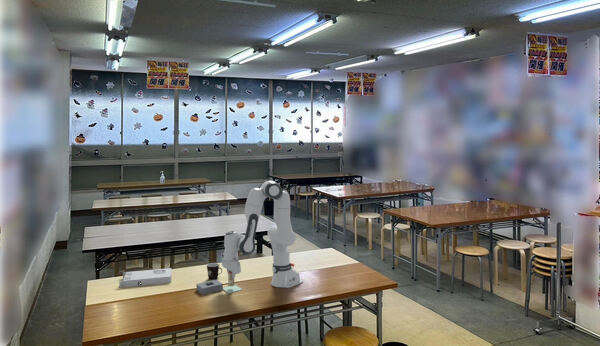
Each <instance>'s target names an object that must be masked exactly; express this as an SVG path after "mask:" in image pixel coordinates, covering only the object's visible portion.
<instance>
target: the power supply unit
mask: <svg viewBox="0 0 600 346" xmlns="http://www.w3.org/2000/svg"><path fill="white" fill-rule="evenodd" d="M172 274H173V273H172V268H171V267H170V268H168V267H167V268H157V269H145V270H135V271H125V272H124V271H123V272H122V279H121V280H119V284H118V285H119V286H118V287H119V288H128V287H129V288H130V287H137V286H148V285H150V286H151V285H161V284H170V283H172ZM140 283H141V284H140Z"/></svg>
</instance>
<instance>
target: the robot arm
mask: <svg viewBox="0 0 600 346" xmlns="http://www.w3.org/2000/svg"><path fill="white" fill-rule="evenodd" d="M267 198H270V199H273V220H274V222H275V225H272V226H270V227H269V228H268V230H267V236H268V238H269V241H270V244H271V249H272V257H273V258H272V260H273V261H272V262H273V263H272V279H271V282H270V285H271V286H273V287H276V288H287V289H288V288H289V289H290V288H292V287H294V286H297V285H299V284H303V283H304V280H303V278H301V277H300V273H299V272H298V271H297V270H296V269H294V268H293V267H295V263H291V262H290V250H289V249H288V247H290V246H292V245H294V244H295V243H296V239H297V237H296V234H295V232H294V230H293V226H292V222H291V198H290V194H289V192H288V191H286V190H283V189H282V187H281V185H280V184H279V183H278V182H276V181H274V180H265V181H263V182H262V183H261V184H260V185H259V186H258V187H253V188H252V189H250V191H249V193H248V196H247V198H246V202H245V205H244V216H245V218H246V230H245V234H241V233H239V232H238V231H237V230H231V231H228V232H226V233H225V234H224V241H223V246H224V252H223V253H222V252H221V265H222V266H221V267H223V268H225V269H226V271H227V273H228V271H231V272H232V273H233V274H232V278H234V279H235V278H236V275H238V274H241V272H242V267H241V262H240V261H239V251H240V253H241V254H243V255H244V256H249V255H251V254H252V253H254V252H255V251H256V242H255V241H256V240H255V238H256V234H257V227H258V223H259V219H260V215H261V213H262V209H263V206H264V202H265V200H266V199H267Z"/></svg>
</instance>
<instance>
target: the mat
mask: <svg viewBox="0 0 600 346" xmlns="http://www.w3.org/2000/svg"><path fill="white" fill-rule="evenodd" d="M222 291H224V292H225V293H227V294H232V293H236V292H239V291H243V289H242V288H241V287H239V286H238V285H237V284H234V286H225V287H224V286H223V290H222Z"/></svg>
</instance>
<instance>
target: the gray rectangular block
mask: <svg viewBox="0 0 600 346" xmlns="http://www.w3.org/2000/svg"><path fill="white" fill-rule="evenodd" d="M195 286H196V291H198V293H200V294H201V295H207V294H211V292H212V293H215V292H219V291H224V290H223V288H224V284H223V283H222V282H221V281H219V280H218V279H216V280H207V281H203V282H200V283H196V285H195Z"/></svg>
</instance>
